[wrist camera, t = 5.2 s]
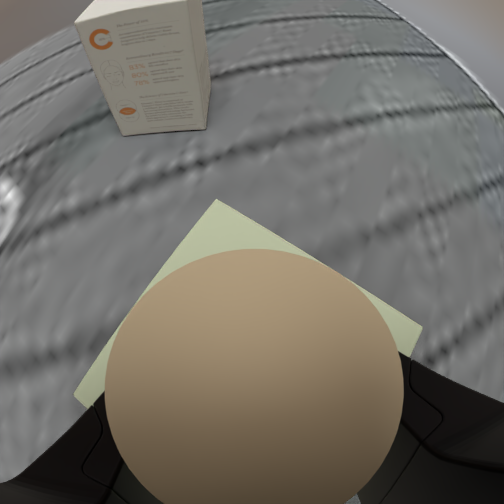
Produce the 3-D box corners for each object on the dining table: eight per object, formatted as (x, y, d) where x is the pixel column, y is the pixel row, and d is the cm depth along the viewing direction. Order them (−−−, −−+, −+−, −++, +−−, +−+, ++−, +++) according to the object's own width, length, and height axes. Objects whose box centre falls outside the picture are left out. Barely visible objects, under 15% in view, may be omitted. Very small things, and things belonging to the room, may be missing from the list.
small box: (211, 86, 28) (200, -29, 16) (206, 131, 26) (188, -1, 14) (135, 93, 28) (102, -11, 16) (120, 137, 26) (71, 23, 14)
